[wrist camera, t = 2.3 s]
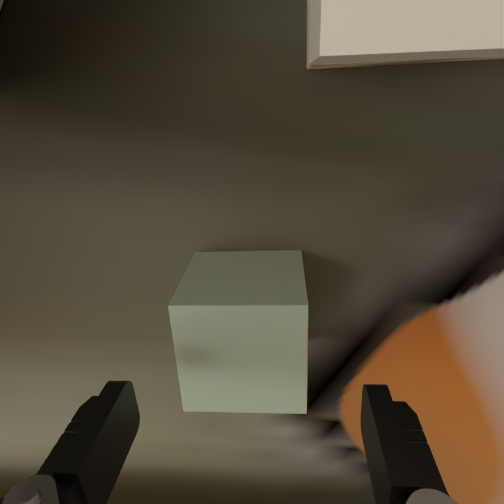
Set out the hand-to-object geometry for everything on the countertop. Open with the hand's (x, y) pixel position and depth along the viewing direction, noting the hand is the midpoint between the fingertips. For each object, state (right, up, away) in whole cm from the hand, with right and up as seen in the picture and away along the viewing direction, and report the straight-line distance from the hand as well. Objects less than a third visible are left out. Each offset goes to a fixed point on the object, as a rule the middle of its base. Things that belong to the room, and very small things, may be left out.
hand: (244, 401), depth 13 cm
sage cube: (0, +3, +8) cm, 8 cm away
